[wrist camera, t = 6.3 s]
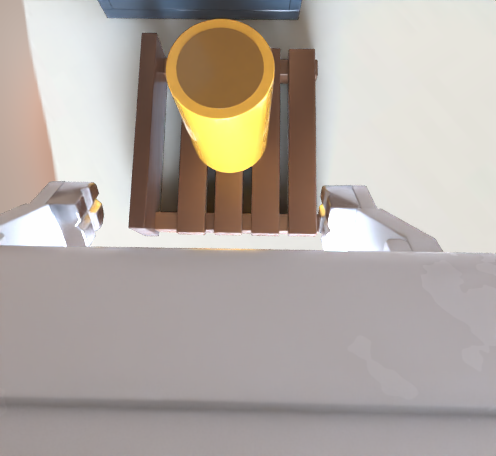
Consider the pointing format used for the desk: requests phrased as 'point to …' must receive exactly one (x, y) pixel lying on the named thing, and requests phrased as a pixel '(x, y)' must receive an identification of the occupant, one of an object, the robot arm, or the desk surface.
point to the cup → (223, 91)
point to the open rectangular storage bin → (203, 9)
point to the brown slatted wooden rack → (226, 184)
